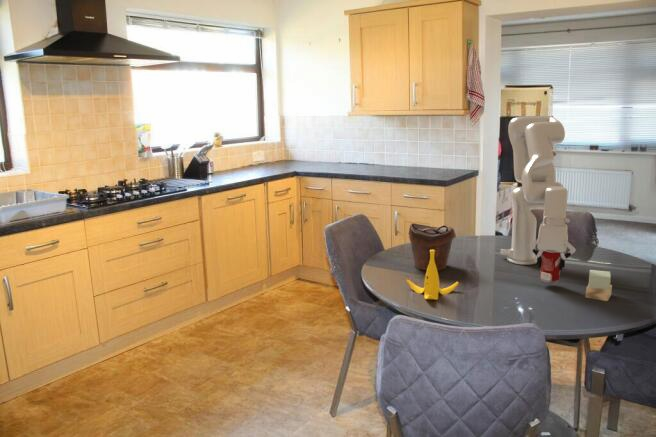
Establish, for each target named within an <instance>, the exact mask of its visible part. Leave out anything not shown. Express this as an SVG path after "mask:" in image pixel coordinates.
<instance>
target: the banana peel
mask: <svg viewBox="0 0 656 437" xmlns="http://www.w3.org/2000/svg"><path fill="white" fill-rule="evenodd" d="M434 253H435V250H430V262H429V265H428V268H427V270H426V273H425V274H424V284H423V285H424V286H423V287H421V286H418V285H416V284H415V283H414V282H412V281H411V280H410V279H406V283H407V284H408V286H409V287H410V288H411V289H412V291H414V292H415V293H417V294H419V295H420V294H424V295H423V296H424V299H425V300H435V301H437V300H438V299H439V295H442V296H444V295H445V296H446V295H449V294H451V292H453V290H455V289H456V287H457V286H458V285H459V284H460V282H458V281H456V282H455V283H453V284H451V285H450V286H447V287H445V288H441V287H440V276H439V273H438V271H439V270H437V268H436V265H435V261H434Z"/></svg>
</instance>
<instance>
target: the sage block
mask: <svg viewBox="0 0 656 437" xmlns="http://www.w3.org/2000/svg"><path fill="white" fill-rule="evenodd" d="M588 276H589V277H588V284H589V288H597V289H606V290H610V285H611V279H612V276H611V271H607V270H606V271H605V270H598V269H597V270H596V269H589V275H588Z"/></svg>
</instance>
